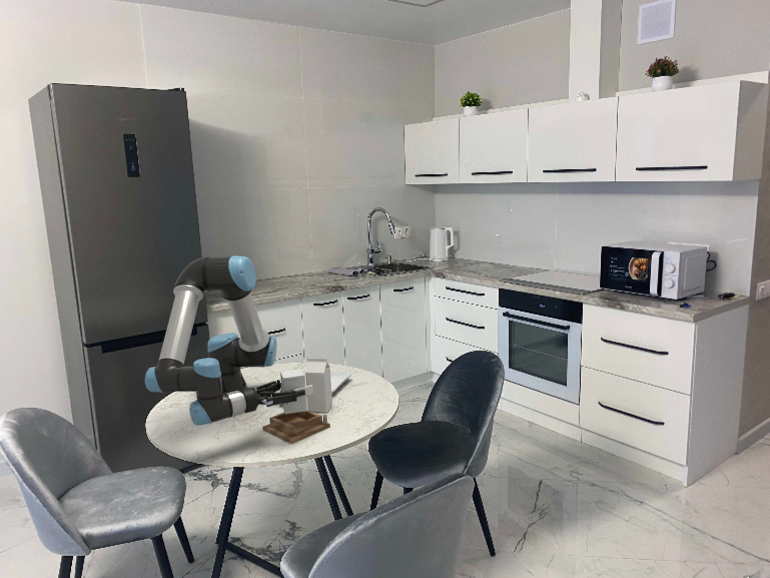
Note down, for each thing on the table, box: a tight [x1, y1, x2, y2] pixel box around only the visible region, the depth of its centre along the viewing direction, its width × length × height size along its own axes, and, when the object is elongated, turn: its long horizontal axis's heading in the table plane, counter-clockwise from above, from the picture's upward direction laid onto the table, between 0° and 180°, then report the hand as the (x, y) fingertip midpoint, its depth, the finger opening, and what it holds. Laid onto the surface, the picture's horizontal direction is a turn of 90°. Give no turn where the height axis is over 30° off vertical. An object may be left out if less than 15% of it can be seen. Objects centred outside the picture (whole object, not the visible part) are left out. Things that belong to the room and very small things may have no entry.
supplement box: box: [279, 368, 308, 414], centre depth 193 cm, size 7×7×13 cm
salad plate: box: [302, 369, 352, 395], centre depth 233 cm, size 21×21×3 cm
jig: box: [262, 409, 331, 445], centre depth 195 cm, size 16×16×4 cm
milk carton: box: [304, 357, 333, 413], centre depth 210 cm, size 7×7×19 cm
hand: (305, 385), depth 195 cm, fingers closed on supplement box, 9 cm apart
